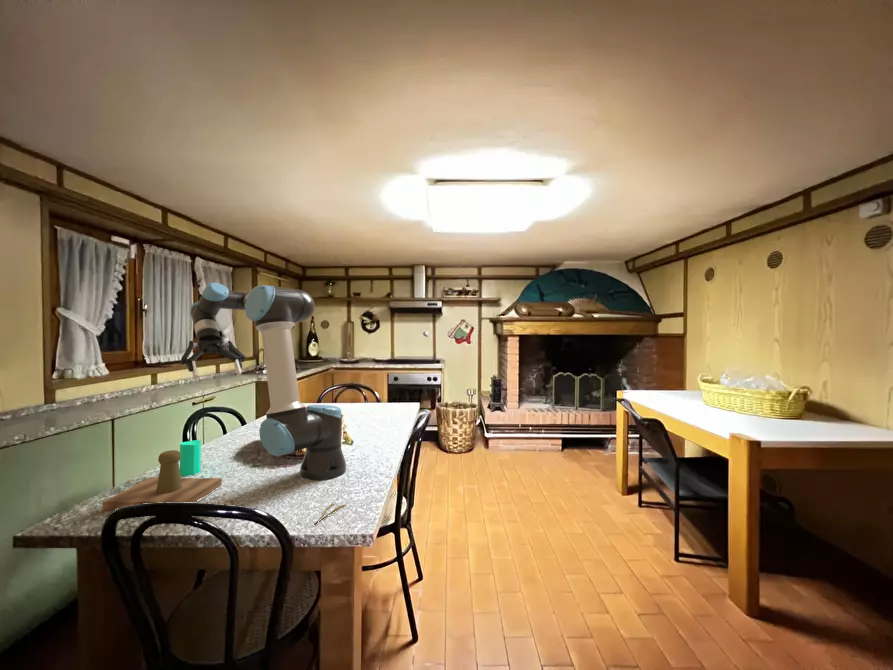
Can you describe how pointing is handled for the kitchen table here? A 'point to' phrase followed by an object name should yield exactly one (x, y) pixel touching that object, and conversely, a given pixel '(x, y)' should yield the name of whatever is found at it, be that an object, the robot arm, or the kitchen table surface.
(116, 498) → the walnut board
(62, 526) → the kitchen table surface
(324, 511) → the tongs
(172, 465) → the cork
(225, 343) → the robot arm
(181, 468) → the candle
